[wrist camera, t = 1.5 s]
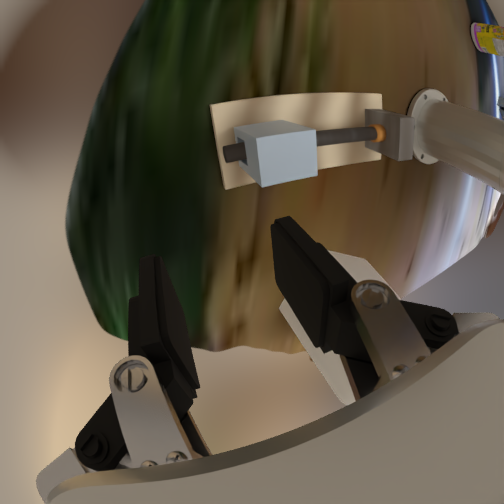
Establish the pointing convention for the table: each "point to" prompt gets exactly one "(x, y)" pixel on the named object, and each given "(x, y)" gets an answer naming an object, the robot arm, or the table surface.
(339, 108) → the board
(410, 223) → the table surface
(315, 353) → the milk
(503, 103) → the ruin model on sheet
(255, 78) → the table surface
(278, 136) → the sleeve
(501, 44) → the supplement bottle
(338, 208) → the table surface
